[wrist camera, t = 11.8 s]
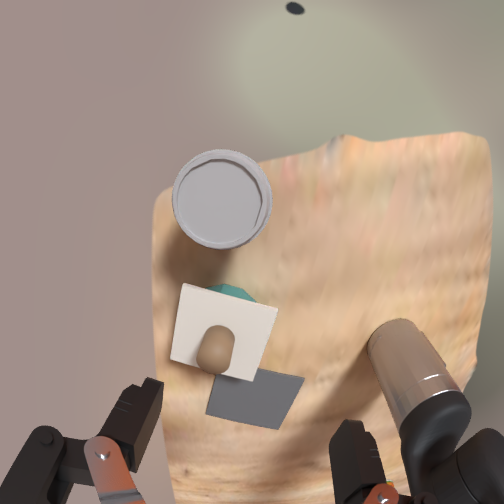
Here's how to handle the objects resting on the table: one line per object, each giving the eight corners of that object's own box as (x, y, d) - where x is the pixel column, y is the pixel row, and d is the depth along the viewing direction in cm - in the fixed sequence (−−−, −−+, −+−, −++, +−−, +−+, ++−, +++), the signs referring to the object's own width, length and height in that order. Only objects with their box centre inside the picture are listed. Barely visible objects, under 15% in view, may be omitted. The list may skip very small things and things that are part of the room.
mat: (304, 377, 46) (304, 379, 46) (278, 427, 51) (278, 429, 50) (220, 358, 46) (220, 360, 46) (206, 412, 50) (205, 414, 50)
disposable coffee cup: (234, 240, 40) (218, 273, 29) (183, 188, 38) (148, 201, 27) (288, 190, 38) (295, 205, 26) (235, 136, 36) (219, 126, 25)
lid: (277, 308, 37) (278, 333, 32) (252, 378, 41) (250, 406, 35) (184, 282, 37) (169, 303, 31) (171, 355, 41) (159, 381, 35)
